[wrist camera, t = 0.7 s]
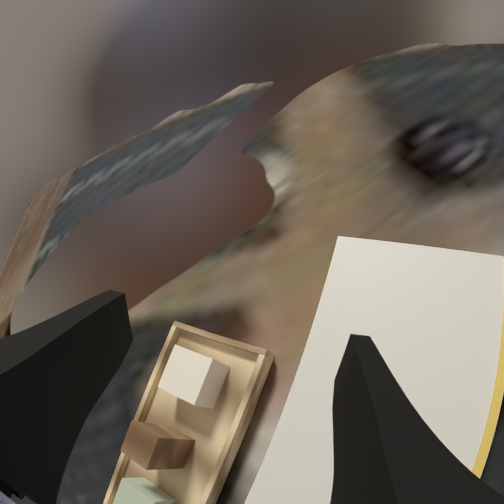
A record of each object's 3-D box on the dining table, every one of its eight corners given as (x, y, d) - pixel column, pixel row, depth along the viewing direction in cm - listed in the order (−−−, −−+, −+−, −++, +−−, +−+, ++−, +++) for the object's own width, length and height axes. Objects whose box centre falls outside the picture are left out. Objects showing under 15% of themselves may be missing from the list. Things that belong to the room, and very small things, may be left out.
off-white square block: (213, 409, 24) (194, 405, 22) (177, 392, 26) (157, 386, 24) (229, 366, 26) (212, 358, 23) (193, 353, 28) (174, 344, 25)
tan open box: (194, 556, 18) (146, 575, 13) (120, 505, 23) (70, 507, 18) (277, 357, 27) (245, 334, 21) (189, 330, 32) (147, 303, 26)
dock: (426, 567, 11) (429, 580, 9) (246, 520, 19) (232, 527, 17) (504, 271, 21) (513, 256, 19) (342, 250, 29) (337, 234, 27)
